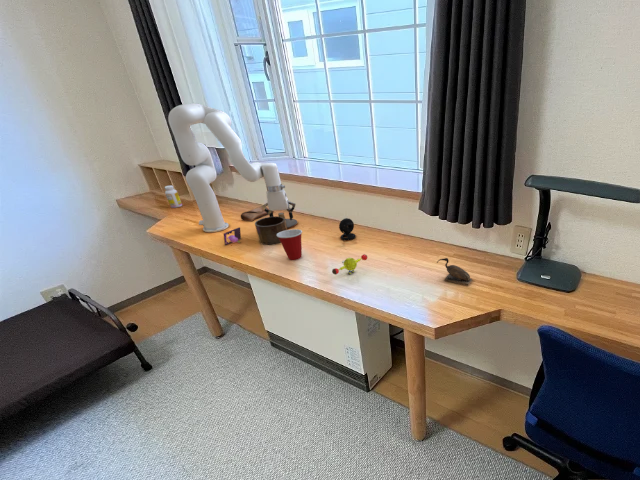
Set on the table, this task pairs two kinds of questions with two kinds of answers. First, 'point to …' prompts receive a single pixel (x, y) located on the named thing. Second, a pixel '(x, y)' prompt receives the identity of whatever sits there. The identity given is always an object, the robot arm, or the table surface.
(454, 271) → the figurine
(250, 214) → the sunglasses case
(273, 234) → the basket
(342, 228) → the webcam
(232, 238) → the purple toy package
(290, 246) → the plastic cup
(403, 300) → the table surface
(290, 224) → the basket lid
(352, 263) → the toy figure
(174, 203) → the supplement bottle
